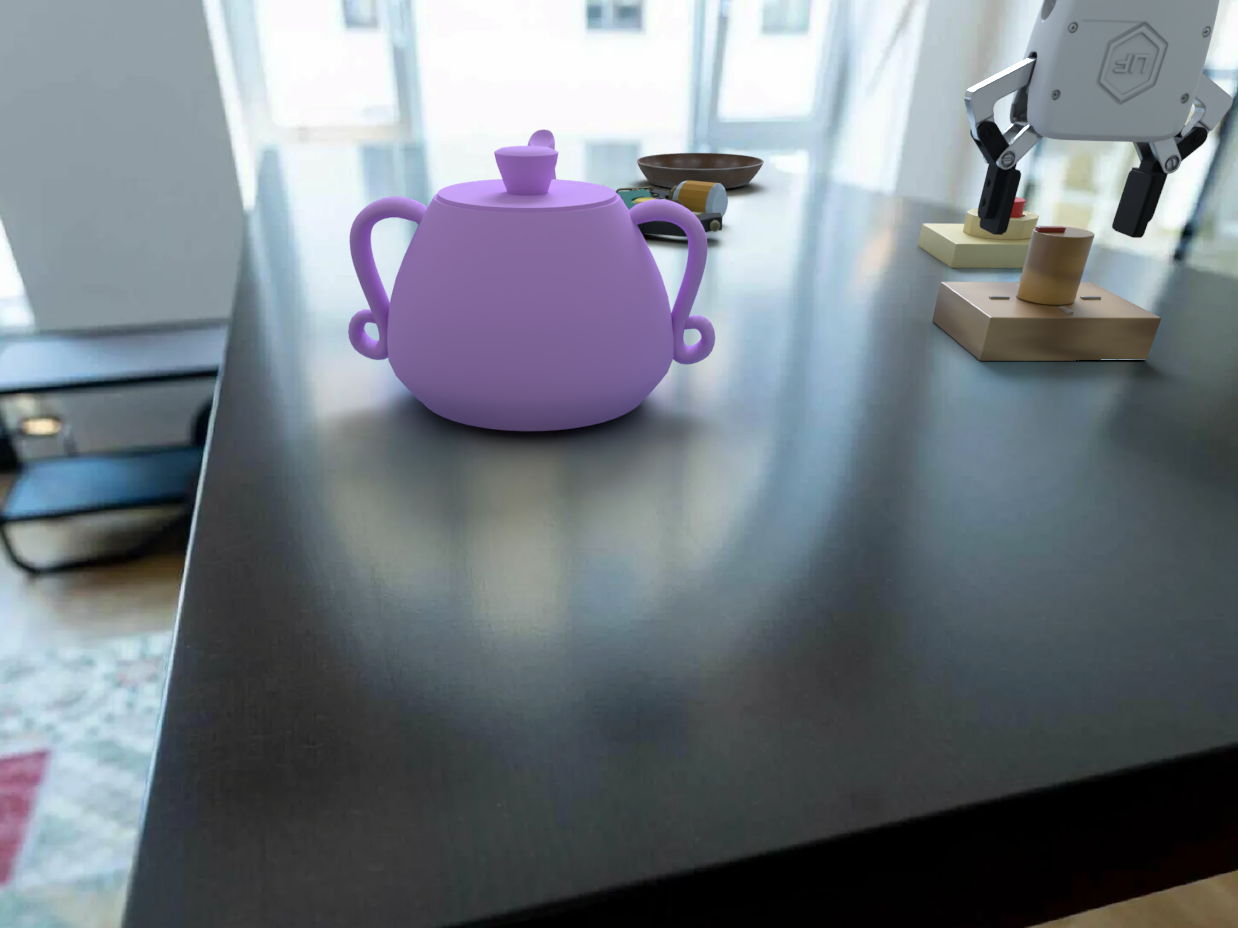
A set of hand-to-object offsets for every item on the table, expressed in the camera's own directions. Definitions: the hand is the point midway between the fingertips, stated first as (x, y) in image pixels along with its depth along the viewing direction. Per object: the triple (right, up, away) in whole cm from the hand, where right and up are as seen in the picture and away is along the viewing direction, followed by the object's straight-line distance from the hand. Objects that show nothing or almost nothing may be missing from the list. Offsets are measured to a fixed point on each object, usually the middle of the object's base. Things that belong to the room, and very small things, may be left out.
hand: (1059, 232), depth 63 cm
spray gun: (-25, +17, +38) cm, 49 cm away
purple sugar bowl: (-36, -12, -5) cm, 39 cm away
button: (+7, +13, +26) cm, 30 cm away
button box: (+7, +10, +28) cm, 30 cm away
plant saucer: (-18, +36, +65) cm, 76 cm away
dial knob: (0, -4, +3) cm, 4 cm away
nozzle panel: (0, -6, +4) cm, 8 cm away
